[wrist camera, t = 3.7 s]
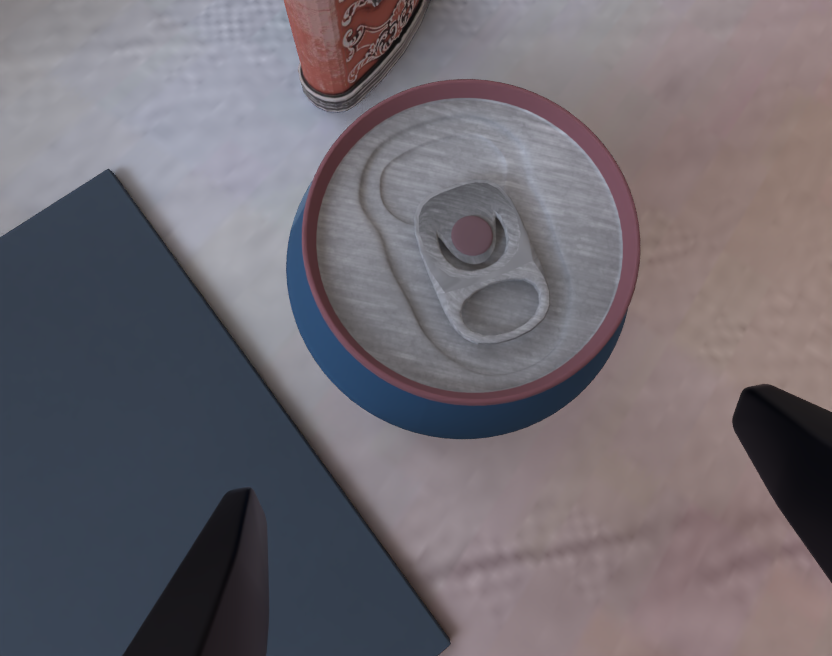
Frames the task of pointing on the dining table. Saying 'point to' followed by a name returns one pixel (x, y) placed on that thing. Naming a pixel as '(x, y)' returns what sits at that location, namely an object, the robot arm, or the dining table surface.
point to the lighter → (349, 45)
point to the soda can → (464, 259)
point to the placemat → (157, 454)
